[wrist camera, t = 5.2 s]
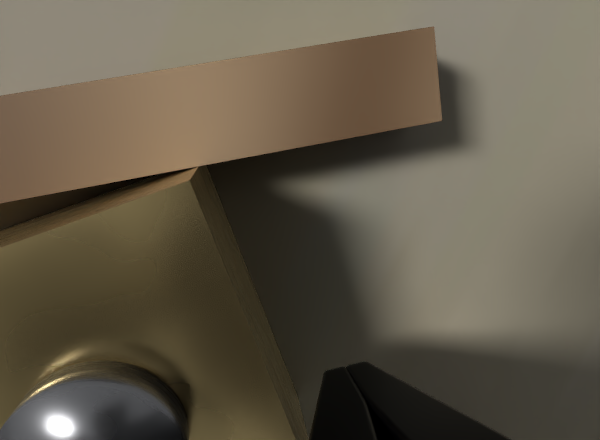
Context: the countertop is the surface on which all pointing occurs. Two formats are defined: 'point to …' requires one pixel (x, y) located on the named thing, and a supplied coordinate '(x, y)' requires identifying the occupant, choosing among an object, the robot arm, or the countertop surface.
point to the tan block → (138, 323)
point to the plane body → (214, 112)
